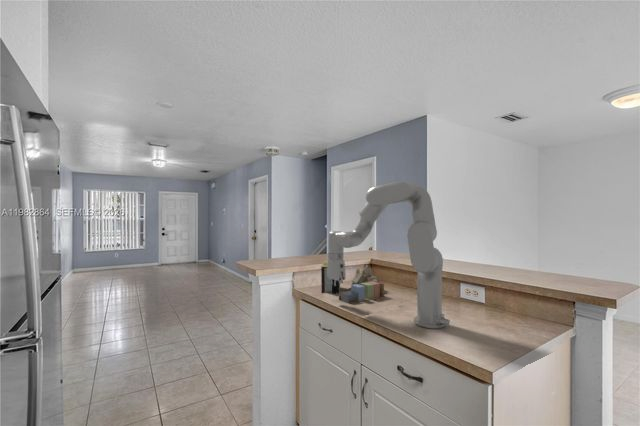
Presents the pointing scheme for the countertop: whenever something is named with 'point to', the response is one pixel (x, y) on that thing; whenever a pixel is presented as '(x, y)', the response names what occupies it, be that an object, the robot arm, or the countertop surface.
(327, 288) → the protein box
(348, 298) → the dark grey block
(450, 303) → the countertop surface
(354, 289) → the book
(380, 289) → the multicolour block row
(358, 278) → the ceramic cottage
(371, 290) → the book
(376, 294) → the book
